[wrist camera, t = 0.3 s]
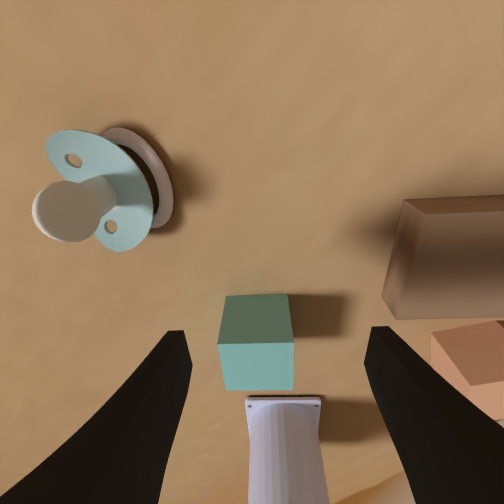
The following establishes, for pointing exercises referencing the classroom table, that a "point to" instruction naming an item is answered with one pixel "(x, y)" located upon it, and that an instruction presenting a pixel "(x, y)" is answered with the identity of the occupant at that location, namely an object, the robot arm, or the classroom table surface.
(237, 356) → the teal cube
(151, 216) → the pacifier
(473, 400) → the terracotta cube
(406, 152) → the classroom table surface
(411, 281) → the walnut slab
